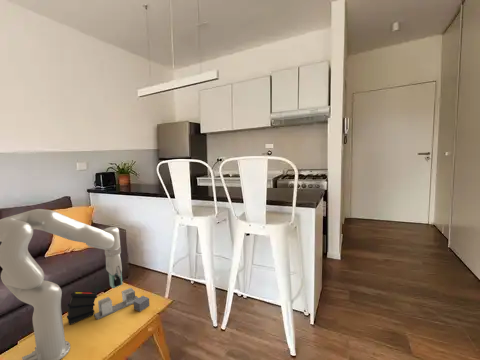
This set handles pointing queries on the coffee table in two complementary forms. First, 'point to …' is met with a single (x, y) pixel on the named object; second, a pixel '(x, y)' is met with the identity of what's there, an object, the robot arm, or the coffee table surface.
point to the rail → (107, 307)
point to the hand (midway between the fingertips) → (116, 283)
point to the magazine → (80, 306)
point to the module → (111, 278)
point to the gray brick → (141, 303)
